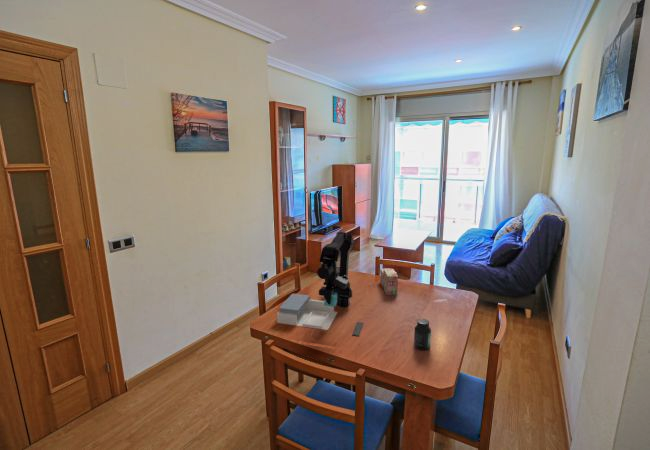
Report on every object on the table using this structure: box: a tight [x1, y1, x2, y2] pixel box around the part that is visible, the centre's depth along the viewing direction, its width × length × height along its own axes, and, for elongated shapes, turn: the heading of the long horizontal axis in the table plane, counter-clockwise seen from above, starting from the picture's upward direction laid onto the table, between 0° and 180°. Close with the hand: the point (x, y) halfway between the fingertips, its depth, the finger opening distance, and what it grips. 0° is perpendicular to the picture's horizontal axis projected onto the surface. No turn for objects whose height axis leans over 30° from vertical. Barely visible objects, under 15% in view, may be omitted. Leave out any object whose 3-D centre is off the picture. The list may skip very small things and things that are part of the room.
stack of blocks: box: [379, 267, 399, 296], centre depth 208 cm, size 21×6×12 cm, turn 2°
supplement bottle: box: [413, 318, 432, 351], centre depth 145 cm, size 7×7×12 cm
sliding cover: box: [278, 293, 311, 314], centre depth 173 cm, size 10×18×2 cm, turn 164°
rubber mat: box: [352, 321, 364, 337], centre depth 162 cm, size 12×12×1 cm
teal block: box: [323, 293, 337, 308], centre depth 163 cm, size 5×5×5 cm
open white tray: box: [276, 299, 338, 331], centre depth 171 cm, size 26×19×6 cm
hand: (330, 302), depth 163 cm, fingers closed on teal block, 5 cm apart
